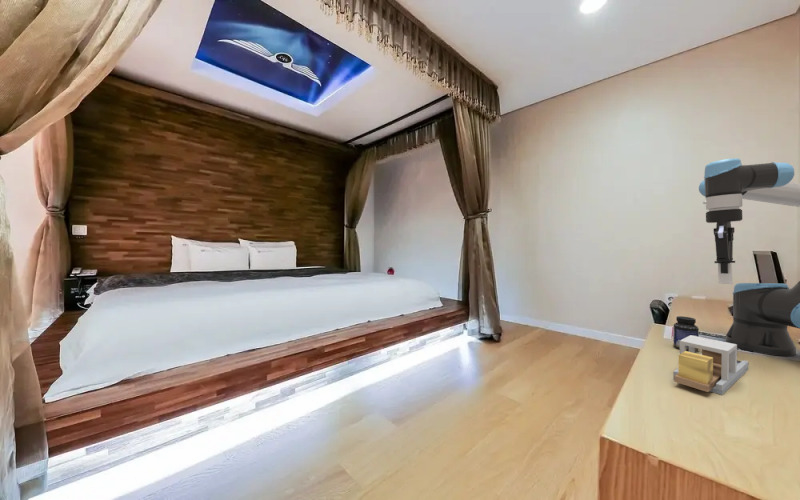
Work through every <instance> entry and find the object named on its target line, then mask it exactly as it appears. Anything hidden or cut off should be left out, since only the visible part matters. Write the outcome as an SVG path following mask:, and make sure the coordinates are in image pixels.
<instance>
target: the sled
mask: <svg viewBox="0 0 800 500" xmlns="http://www.w3.org/2000/svg"><path fill="white" fill-rule="evenodd" d="M701 353H702V355H700V354H701ZM701 353H697V352H695V353H692V352H689V351H685V352H683V353H681V354H680V353H678V367H677V369H678V374H676V375H675V376H674V380H673V382H675V383H678V384H681V385H684V386H687V387H690V388H694V389H697V390H700V391H702V392H706V393H709V392H711V391H710V390H711V389H712V388H714V387H715V386H716V383H717V382H719V381H720V380H721V365H722V354H721V353H717V352H712V351H708V350H703V349H701ZM729 364H730V354H729Z"/></svg>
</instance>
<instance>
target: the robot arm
mask: <svg viewBox="0 0 800 500" xmlns="http://www.w3.org/2000/svg"><path fill="white" fill-rule="evenodd" d="M741 161H742V160H741V159H740V158H732V157H731V158H726V159H720V160H715V161H713V162H710V163H709V162H708V163H707V164H706V165H705V167H704V174H703V175H704V176H703V178H704V179H703V180H702V181H701V182H700V183H699V185H698V192H699V193H700V195H702V196H703V197H704V198H705V200H703V201H702V204H703V205H705V210H707V211H706V212H705V221H706V223H708V224H710V223H711V224H714V223H716V225H715V226H716V227H715V228H713V235H714V242H715V243H714V244H715V255H716V260H715V261H714V264H717V272H718V274H717V276H718V277H717V278H718V284H722V285H724V284H725V285H733V263H734V264H736V260H733V259H734V257H733V255H734V253H733V252H734V251H733V250H734V249H733V247H734V246H733V245H734V240H735V239H734V233H735V227H734V226H733V227H732V223H733V222H740V221H743V209H741V208H742V207H743V200H747V201H755V202H763V203H768V204H776V205H781V206H782V205H783V206H789V207H796V208H800V183H799V182H795V181H793V182H792V180H793V179H794V177H795V167H794V165H791V164H790V163H788V162H785V161H784V162H783V161H782V162H766V163H757V164H756V163H755V164H748V165H747V164H746V165H745V164H744V165H743V163H742V162H741ZM731 222H732V223H731ZM732 295H733V296H732V298H733V299H732V308H733V309H732V311H733V312H732V313H733V315H732V317H733V318H732V319H733V320H732V324H731V325H730V327H729V329H728V331H727V332H726V334H725V341H724V342H727V343H732V344H737V349H741V350H744V351H749V352H753V353H760V354H765V355H772V356H780V357H781V356H782V357H793V356H796V355H797V348H796V345H795V343H794V341H793V339H792V337H791V335H790V332H789V330H788V327H791V328H796V329H799V330H800V280H799V281H798V282H797V283H796V284H795V285H794V286H793V287H791V288H790V287H789V285H788V284H786V283H773V282H772V283H767V282H766V283H763V282H760V283H759V282H756V283H755V282H739V283H736V284H735V285H734V287H733V292H732Z"/></svg>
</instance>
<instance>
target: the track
mask: <svg viewBox="0 0 800 500" xmlns="http://www.w3.org/2000/svg"><path fill="white" fill-rule="evenodd" d="M686 346H689V351H688V352H692V353H696V352H695V348H698V349H700V350H702V349H703V350H708V351H712V352H717V353H721V354H722V365H721V380H720V381H719V382H717V383H716V386H715V387H714V388H712V389H711V390H710V391H709V392H712V393H714V394H718V395H720V396H723V394H725V393H726V392H727V390H729V389H730V388H731V387H732V386H733V385H734V384H735V383H736V382H737V381H738V380H740V378H741V377H742V376H744V374H745V373H747V371H749V361H748V360H744V359H743V360H741V361H742V362H740V363H737V360H738V359H737V355H738V351H737V350H738V348H737V344H732V343H727V342H725V341H721V340H716V339H711V338H707V337H703V336H702V337H701V336H699V337H697V336H692V335H690V336H688V337H686V338H684V339H682V340H680V349H679V354H681V353H683V352H685V351H686ZM699 354H700V355H702V352H701V353H699ZM729 354H730V364H729ZM676 374H678V368H676V369H675V370H673V374H672V375H673V376H672V378H673V379H672V380H673V381H674V376H675V375H676Z"/></svg>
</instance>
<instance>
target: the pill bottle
mask: <svg viewBox="0 0 800 500" xmlns="http://www.w3.org/2000/svg"><path fill="white" fill-rule="evenodd" d="M690 335H692V336H697V337H700V336H699V335H700V334H699V327H698V326H697V325H696V318H693V317H689V316H679V315H678V316H676V322H674V324H673V347H674V348H676V349H677V348H678V350H680V340H682V339H684V338H686V337H688V336H690ZM686 351H687V352H689V346H686ZM696 351H697V352H699V351H700V350H699V348H695V353H697V352H696Z"/></svg>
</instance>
